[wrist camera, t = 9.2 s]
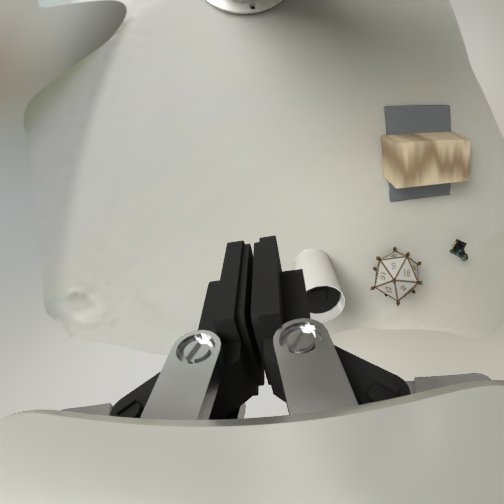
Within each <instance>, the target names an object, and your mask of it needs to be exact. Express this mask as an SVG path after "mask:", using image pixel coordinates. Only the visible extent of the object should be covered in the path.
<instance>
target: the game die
mask: <svg viewBox="0 0 504 504" xmlns="http://www.w3.org/2000/svg"><path fill="white" fill-rule="evenodd" d="M393 249H394V252H393V253H391V254H389V255H388V256H386V257H384V258H382V259H380V257H376V258H377V260H378V261H379V264H378V267H377V268H375V267H374V268H373V269H374V270H375V271H376V279H375V286H374V287H371V289H370V290H374V289H375V288H376V289H378V290H380V291H381V292H383V293H385V296H387V295H388V296H390V297H391V298H393V299H395V300H396V301H397V302H396V303H397V306H399V303H400V302H399V300H401V299H402V298H403V297H405V296H406V295H407V294H409V293H410V292H411V291H412V293H415V291H414V290H413V289H414V288H415V286H416V285H417V284H420V285H421V284H423V283H422V282H421V281H418V265H421V262H418V263H416V262H414V261H413V260H412V259H410V258H409V257H408V256H409V255H410V254H409V252H408V253H407V254H406V255H403V254H401V253H399V252H396V247H394V248H393Z"/></svg>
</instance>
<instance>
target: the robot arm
mask: <svg viewBox="0 0 504 504" xmlns="http://www.w3.org/2000/svg"><path fill="white" fill-rule="evenodd" d="M206 1H207V2H208V3H209V4H211V5H212V6H214V7H216V8H218V9H219V10H222V11H225V12H229V13H235V14H252V13H258V12H262V11H265V10H268V9H270V8H272V7H274V6H276V5H277V4H278V3H280V2H281V1H282V0H206ZM252 6H254V7H255V9H251V7H252ZM264 369H265V373H266V377H267V380H268V384H269V385H271V386H272V390H273V394H274V395H276V396H277V397H279V398H280V399H282V400H283V401H285V402H286V403H287V407H288V412H289V415H286V416H274V417H262V418H247V419H244V414H245V407H246V406H245V402H246V401H247V400H248V399H249V398H251V397H252V396H255V395H258V386H260V385H264ZM0 504H504V380H491V379H490V378H489V377H487V376H485V375H483V374H478V373H471V374H460V375H448V376H432V377H415V378H414V381H404V380H403V379H401V378H400V377H398V376H397V375H395V374H392V373H391V372H388V371H386V370H384V369H382V368H380V367H378V366H375V365H374V364H371V363H369V362H367V361H365V360H363V359H361V358H359V357H357V356H355V355H353V354H351V353H349V352H347V351H345V350H343V349H341V348H339V347H337V346H335V345H333V342H332V340H331V338H330V335H329V333H328V331H327V329H326V328H325V326H324V325H323V324H321V323H320V322H318V321H316V320H313V319H311V317H310V310H309V304H308V298H307V292H306V286H305V281H304V275H303V269H298V270H291V271H284V272H282V269H281V264H280V258H279V252H278V246H277V241H276V236H269V237H263V238H260V242H257V243H254V257H253V254H252V249H251V245H250V244H245V243H244V241H237V242H231V243H227V248H226V253H225V258H224V263H223V268H222V273H221V278H220V281H213V282H210V283H209V285H208V289H207V293H206V298H205V302H204V306H203V311H202V315H201V319H200V324H199V328H198V330H197V331H193V332H190V333H187V334H185V335H184V336H182V337H181V338H179V339H178V340H177V341H176V342H175V344H174V345H173V347H172V349H171V351H170V353H169V355H168V358H167V360H166V362H165V364H164V366H163V368H162V370H161V372H159V373H158V374H157V375H155V376H154V377H152V378H151V379H150V380H148V381H146V382H145V383H144V384H142V385H141V386H139V387H138V388H136V389H135V390H133V391H132V392H130V393H129V394H127V395H126V396H125V397H123V398H122V399H121V400H119V401H118V402H117V403H116V404H115V405H114V406H112V405H111V404H110V403H108V404H102V405H95V406H87V407H79V408H69V409H64V410H60V411H58V410H30V411H22V412H18V413H14V414H12V415H9V416H7V417H5V418H3V419H2V420H0Z"/></svg>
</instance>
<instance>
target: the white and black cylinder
mask: <svg viewBox="0 0 504 504" xmlns="http://www.w3.org/2000/svg"><path fill="white" fill-rule="evenodd" d="M298 269H303V275H304V281H305V286H306V292H307V298H308V304H309V310H310V317H311V319H313V320H316V321H318V322H320V323H322V322H327V321H329V320H332V319H334V318H335V317H337V316H338V315H339V314H340V313H341V312H342V310H343V308H344V307H345V297H344V294H343V292H342V289H341V287H340V284H339V282H338V279H337V276H336V274H335V271H334V269H333V266H332V264H331V261H330V259H329V257H328V255H327V253H325V252H324V251H323V250H320V249H317V248H310V249H306V250H304V251H302V252H301V253H300V254H299V255H297V257H296V259H295V261H294V270H298Z"/></svg>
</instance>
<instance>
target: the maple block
mask: <svg viewBox="0 0 504 504" xmlns="http://www.w3.org/2000/svg"><path fill="white" fill-rule="evenodd" d="M381 141H382V155H383V173H384V177H385V178H386V179H387V180H388V181H389V182H390V183H391V184H392V185H393V186H394V187H395V188H396V189H398V188H407V187H416V186H425V185H434V184H444V183H454V182H464V181H469V180H470V154H471V140H470V139H468V138H466V137H464V136H461V135H459V134H457V133H454V132H433V133H413V134H397V135H384V136H381Z"/></svg>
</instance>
